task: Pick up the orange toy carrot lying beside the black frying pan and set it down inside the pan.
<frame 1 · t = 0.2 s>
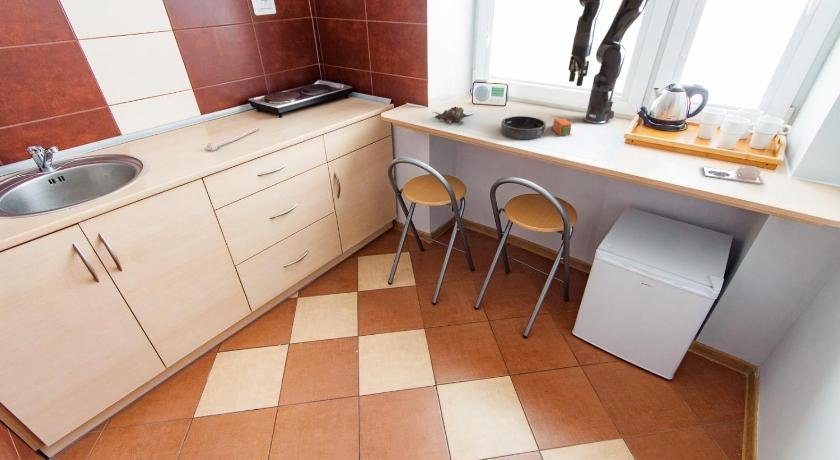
hand: (575, 83, 171), 17 cm above the worktop, tool pointing down, fingers open, 8 cm apart
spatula: (234, 140, 171), on the worktop
figurine: (452, 120, 187), on the worktop
pan: (522, 132, 170), on the worktop
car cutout: (730, 176, 130), on the worktop
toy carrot: (561, 131, 169), on the worktop
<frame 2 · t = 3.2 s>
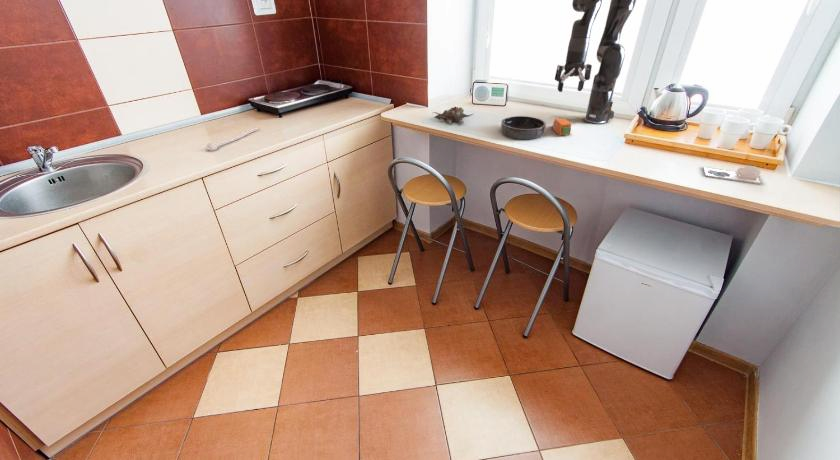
hand: (569, 91, 163), 16 cm above the worktop, tool pointing down, fingers open, 8 cm apart
nothing on the worktop moved.
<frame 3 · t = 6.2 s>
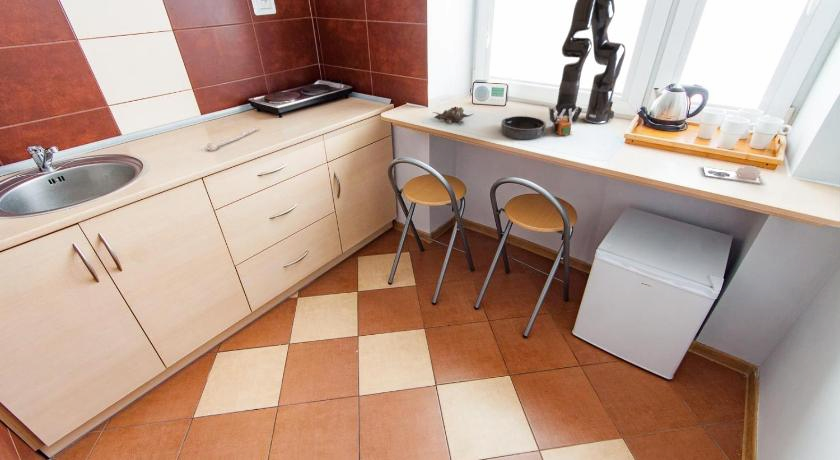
hand: (561, 131, 169), 0 cm above the worktop, tool pointing down, fingers closed on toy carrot, 4 cm apart
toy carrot: (561, 131, 169), on the worktop, touching gripper
everything else where it was.
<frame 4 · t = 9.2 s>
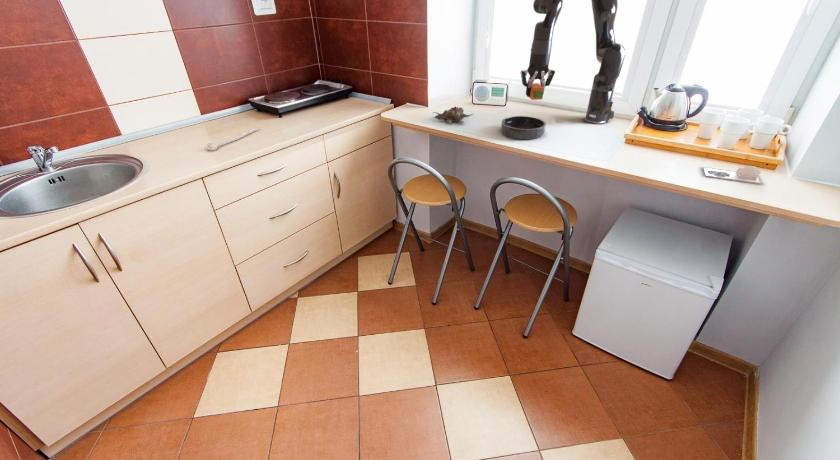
hand: (534, 96, 161), 16 cm above the worktop, tool pointing down, fingers closed on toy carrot, 4 cm apart
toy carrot: (534, 97, 161), point 15 cm above the worktop, touching gripper
everything else where it was.
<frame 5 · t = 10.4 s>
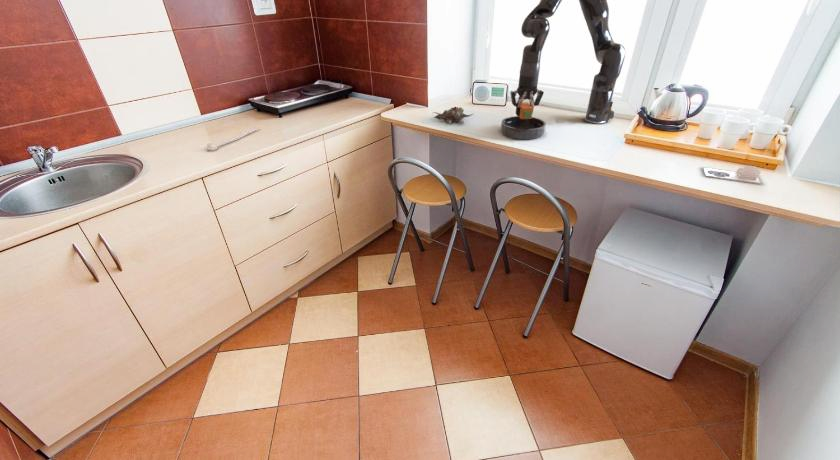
hand: (523, 115, 166), 8 cm above the worktop, tool pointing down, fingers closed on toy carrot, 4 cm apart
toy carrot: (523, 116, 166), point 7 cm above the worktop, touching gripper
everything else where it was.
when the fingers open (1 cm above the worktop, at t = 12.4 s): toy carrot stays where it is, resting on pan.
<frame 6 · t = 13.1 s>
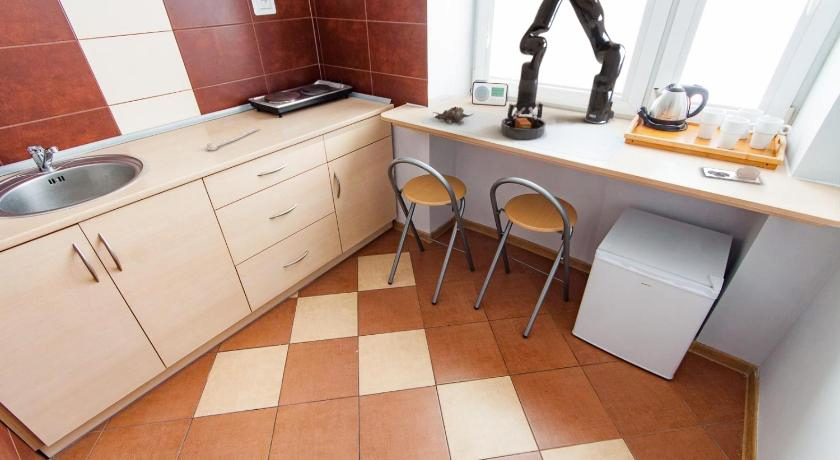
hand: (523, 127, 168), 2 cm above the worktop, tool pointing down, fingers open, 8 cm apart
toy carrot: (522, 131, 169), point 1 cm above the worktop, touching pan
everything else where it was.
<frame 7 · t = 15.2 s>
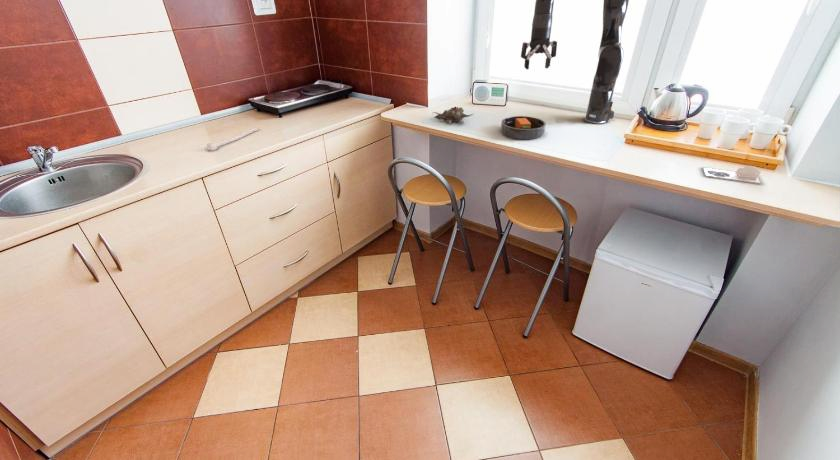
hand: (536, 68, 165), 24 cm above the worktop, tool pointing down, fingers open, 8 cm apart
nothing on the worktop moved.
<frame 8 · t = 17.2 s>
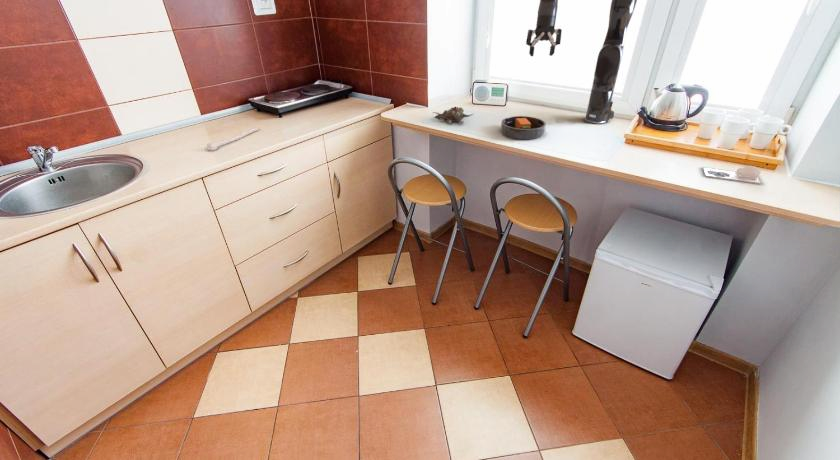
hand: (541, 55, 170), 28 cm above the worktop, tool pointing down, fingers open, 8 cm apart
nothing on the worktop moved.
at the end: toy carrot inside the target area in the pan (0.1 cm from its centre), point 0.6 cm above the pan's base; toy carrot touching pan; the gripper is holding nothing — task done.
